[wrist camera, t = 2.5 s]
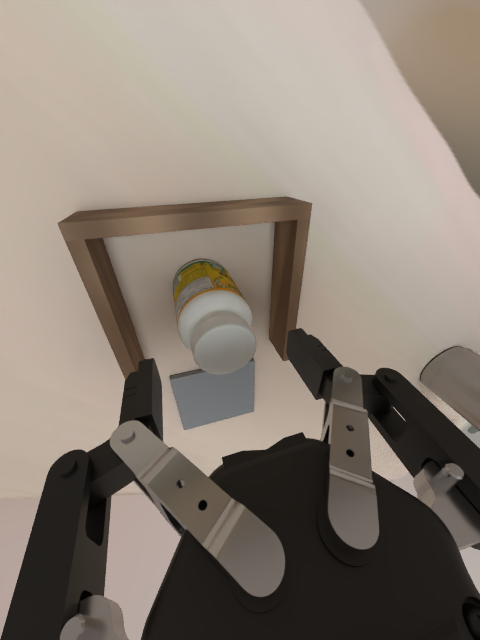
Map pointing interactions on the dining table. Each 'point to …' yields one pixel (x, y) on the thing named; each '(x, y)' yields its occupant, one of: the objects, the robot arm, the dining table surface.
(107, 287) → the cubby
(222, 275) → the supplement bottle
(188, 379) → the mat
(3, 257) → the dining table surface
